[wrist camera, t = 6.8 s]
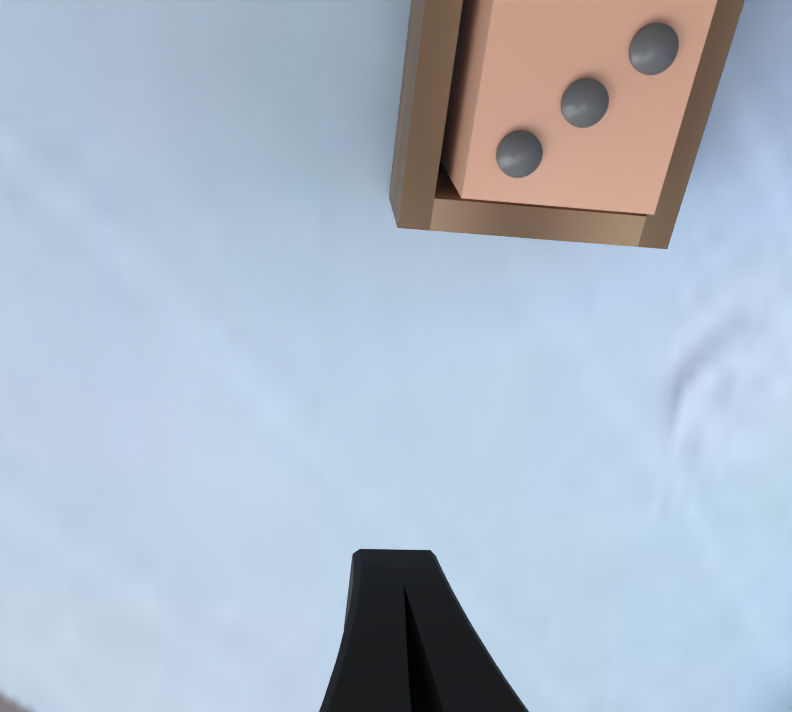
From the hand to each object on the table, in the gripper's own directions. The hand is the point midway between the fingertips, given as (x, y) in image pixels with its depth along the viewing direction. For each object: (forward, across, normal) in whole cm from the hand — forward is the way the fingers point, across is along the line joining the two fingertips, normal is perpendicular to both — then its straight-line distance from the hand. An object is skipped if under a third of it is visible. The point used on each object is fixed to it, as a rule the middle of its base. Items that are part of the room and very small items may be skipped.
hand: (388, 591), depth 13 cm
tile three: (+10, -4, -7) cm, 13 cm away
